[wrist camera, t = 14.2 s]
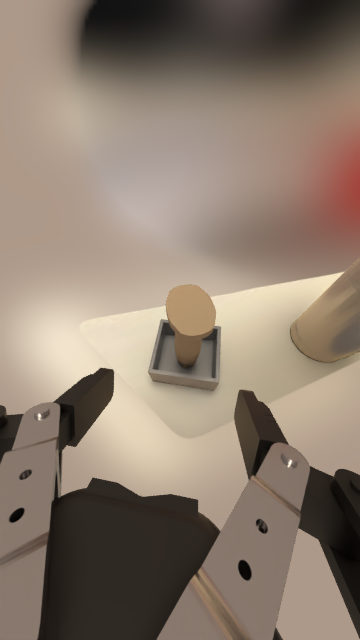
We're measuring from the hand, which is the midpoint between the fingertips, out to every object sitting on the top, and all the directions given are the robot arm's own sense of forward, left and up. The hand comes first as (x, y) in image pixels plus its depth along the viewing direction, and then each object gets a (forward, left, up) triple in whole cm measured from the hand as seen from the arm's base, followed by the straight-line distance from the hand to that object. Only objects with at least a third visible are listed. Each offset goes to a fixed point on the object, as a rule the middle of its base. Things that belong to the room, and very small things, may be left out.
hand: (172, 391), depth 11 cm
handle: (0, -9, -18) cm, 20 cm away
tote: (0, -9, -18) cm, 20 cm away
